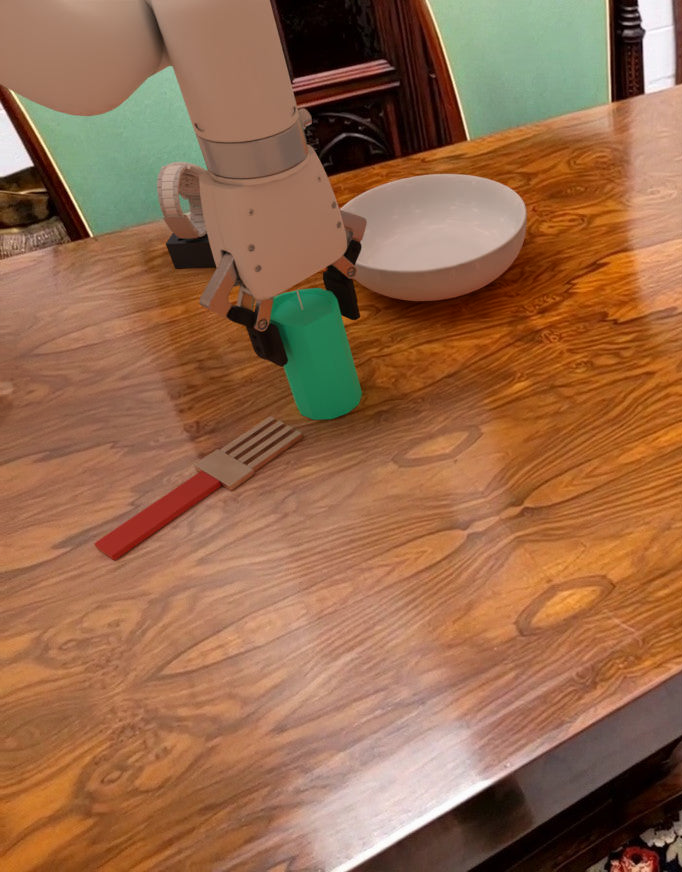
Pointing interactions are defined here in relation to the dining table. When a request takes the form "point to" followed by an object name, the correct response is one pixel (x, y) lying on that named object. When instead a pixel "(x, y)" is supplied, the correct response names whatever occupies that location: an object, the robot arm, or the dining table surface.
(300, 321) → the candle
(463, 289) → the serving bowl
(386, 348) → the dining table surface
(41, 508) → the dining table surface
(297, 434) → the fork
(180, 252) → the watch
